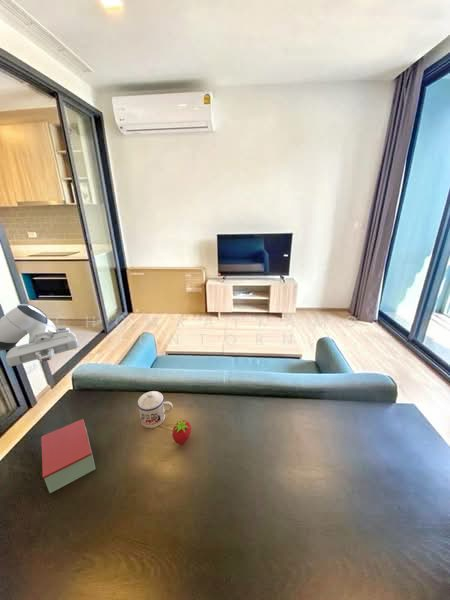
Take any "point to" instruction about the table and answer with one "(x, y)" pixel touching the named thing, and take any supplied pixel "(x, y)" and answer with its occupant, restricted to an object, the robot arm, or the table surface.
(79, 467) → the box
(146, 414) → the teacup with lid
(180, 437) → the strawberry
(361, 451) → the table surface
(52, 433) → the lid
